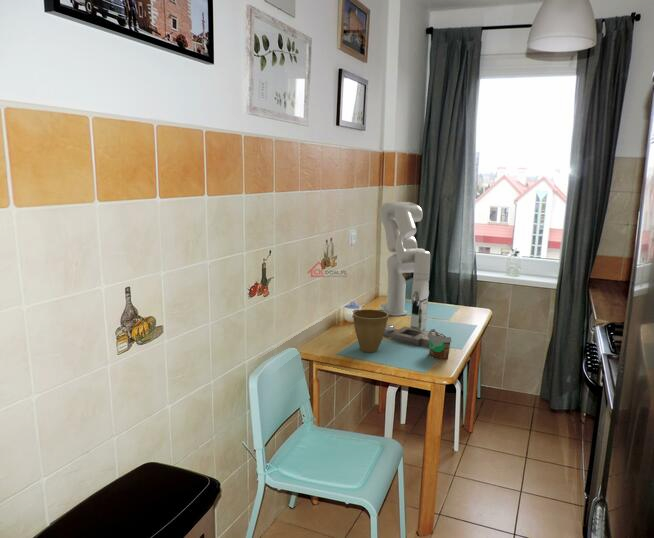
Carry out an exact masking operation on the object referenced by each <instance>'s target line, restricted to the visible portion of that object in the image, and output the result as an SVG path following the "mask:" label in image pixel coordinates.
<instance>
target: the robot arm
mask: <svg viewBox="0 0 654 538" xmlns="http://www.w3.org/2000/svg"><path fill="white" fill-rule="evenodd" d="M379 211H380V212H379V213H380V214H379V215H380V220H381V223H382V226H383V228H384V233H385V241H386V247H387V250H388V252H389V253H392V254H393V255H390V256H389V257H388V258H387V260H386V267H387V290H386V291H387V292H386V294H387V295H386V296H387V297H386V303H385V302H381V303H380V307H381V308H384V309H383V312H386V313H387V314H388V316H395V317H401V316H405V315H407V314H408V311H407V310H406V309H405V306H406V305H405V304H406V290H407V289H406V288H407V287H406V286H407V285H406V283H407V282H406V281H407V280H406V279H405V277H404V275H403V274H404V273H408V274H409V273H413V281H412V287H411V297H410V298H411V309H412V313H415V314H419V306H418V304H419V302H420V301H422V300H426V301H428V302H429V297H430V296H429V295H430V290H429V288H430V287H429V285H430V283H429V281H430V269H431V253H430V251H428V250H425V249H424V248H418V241H417V240H416V238H415V235H416V234H417V230H418V229H417V227H416V224H415V223H417V222H421V221H422V219H423V215H424V214H423V213H424V212H423V209H422V207H420V205H418V204H416V203H414V202H411V201H410V202H409V201H389V202H385V203H382V205H381V206H380V210H379ZM416 301H417V302H416ZM427 308H428V304H427Z"/></svg>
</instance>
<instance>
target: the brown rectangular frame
mask: <svg viewBox="0 0 654 538" xmlns="http://www.w3.org/2000/svg"><path fill="white" fill-rule="evenodd" d="M429 331H430V330H429ZM429 331H428V330H425V329H424V330H419V329H415V328H410V326H406V325H405V326H403V327H401V328H398V330H397V331H395V332H393V333H391V337H395V338H400V339H404V340H408V341H413V342H417V343H419V342H420V345H419V346H424V347H429V338H428V337H427V336H428V333H429ZM407 332H409V333H413V334H418V335H417V336H411V335H407V334H405V333H407Z"/></svg>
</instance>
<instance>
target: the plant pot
mask: <svg viewBox="0 0 654 538" xmlns="http://www.w3.org/2000/svg"><path fill="white" fill-rule="evenodd" d="M352 317H353V324H354V330H355V334H356V335H355V336H356V339H357V342H358V345H359V349H360V351H362V352H365V353H376V352H377V351H379V348H380V346H381V343H382V341H383V339H384V337H385V336H384V332H385V329H386V325H388V318H389V315H388V314H387V313H386V312H384V310H378V309H368V308H367V309H359V310H358V309H357V310H355V311H353V312H352Z"/></svg>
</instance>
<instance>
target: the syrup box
mask: <svg viewBox="0 0 654 538" xmlns="http://www.w3.org/2000/svg"><path fill="white" fill-rule="evenodd" d="M416 302H417V301H416ZM428 303H429V300H428V301H426V300H422V301H420V302H419V304H418V306H419V314H415V313H412V308H411V309H410V310H411V313H410V325H409V327H410V328H415V329H419V330H423V329H424V330H427V317H428V307H427V304H428Z"/></svg>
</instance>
